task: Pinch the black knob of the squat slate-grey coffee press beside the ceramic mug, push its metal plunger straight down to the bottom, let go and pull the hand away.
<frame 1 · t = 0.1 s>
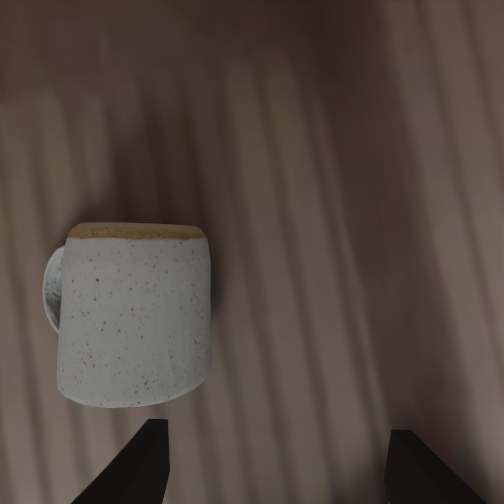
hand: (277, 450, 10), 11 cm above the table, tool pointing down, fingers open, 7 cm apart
ceramic mug: (142, 291, 21), on the table
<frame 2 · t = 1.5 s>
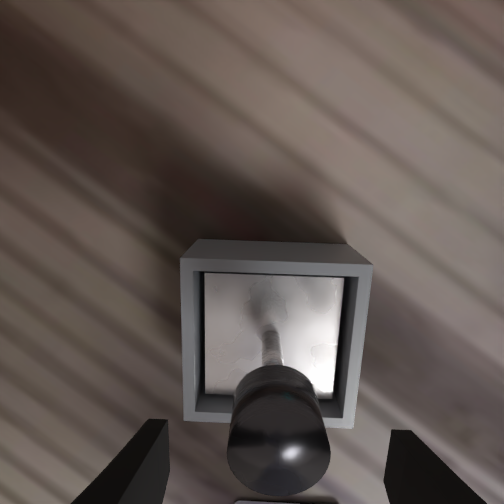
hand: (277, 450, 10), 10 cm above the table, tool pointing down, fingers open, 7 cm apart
press housing: (269, 311, 21), on the table
plunger: (273, 378, 14), point 7 cm above the table, slide at 0.9 cm
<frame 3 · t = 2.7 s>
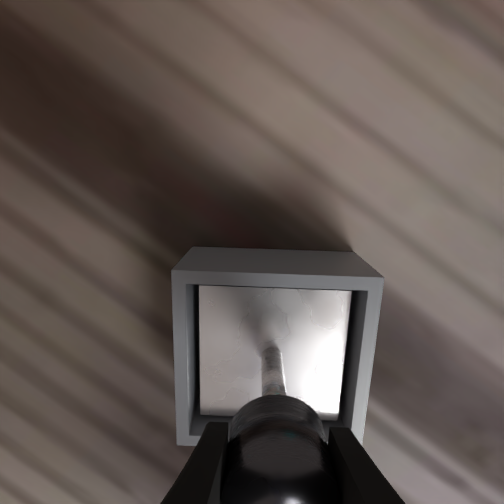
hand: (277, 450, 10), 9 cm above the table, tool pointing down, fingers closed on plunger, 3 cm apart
press housing: (269, 323, 19), on the table
plunger: (274, 405, 12), point 7 cm above the table, slide at 0.9 cm, touching gripper
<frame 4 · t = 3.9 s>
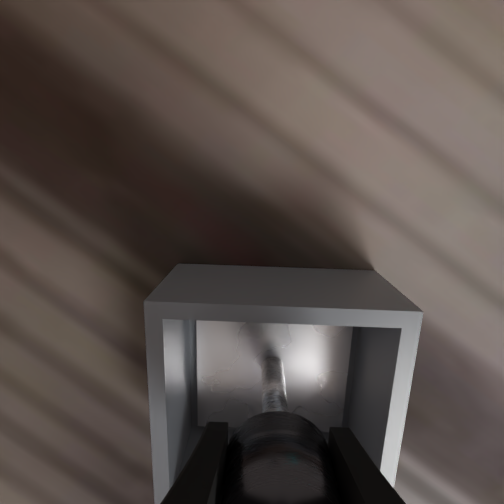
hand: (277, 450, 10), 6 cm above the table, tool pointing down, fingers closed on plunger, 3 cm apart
press housing: (271, 355, 16), on the table
plunger: (275, 420, 12), point 4 cm above the table, slide at 3.6 cm, touching gripper, press housing
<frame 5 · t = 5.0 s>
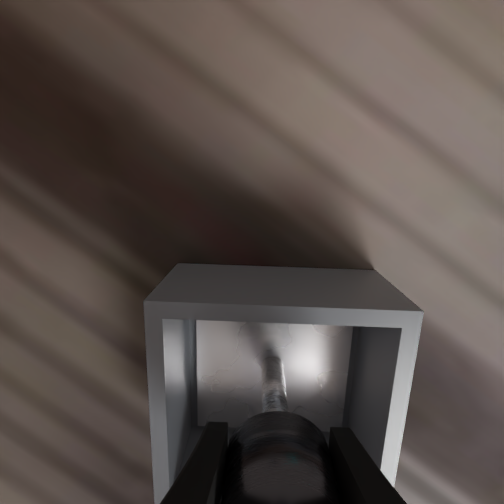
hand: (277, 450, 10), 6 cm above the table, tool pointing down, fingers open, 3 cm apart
press housing: (271, 354, 16), on the table
plunger: (275, 420, 12), point 4 cm above the table, slide at 3.6 cm, touching press housing
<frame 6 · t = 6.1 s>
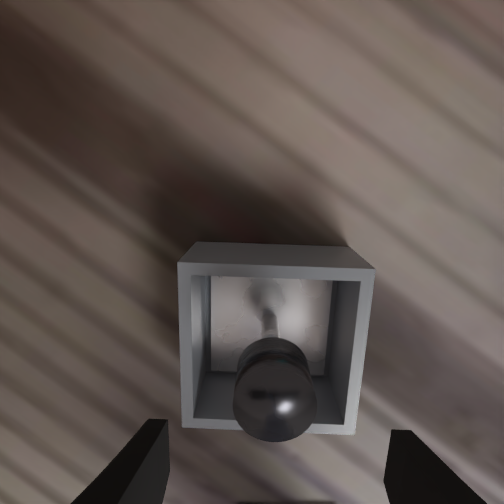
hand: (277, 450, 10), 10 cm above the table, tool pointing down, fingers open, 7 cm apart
press housing: (269, 314, 20), on the table
plunger: (271, 352, 16), point 4 cm above the table, slide at 3.6 cm, touching press housing
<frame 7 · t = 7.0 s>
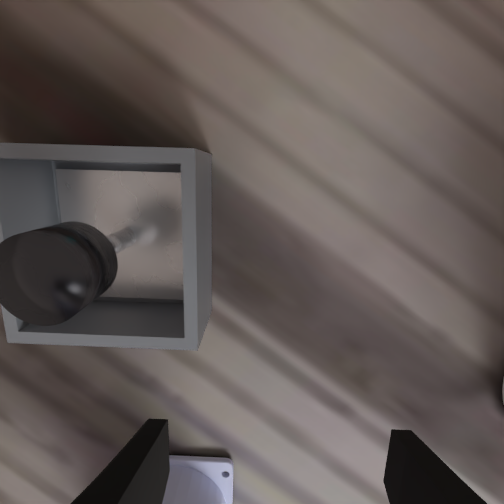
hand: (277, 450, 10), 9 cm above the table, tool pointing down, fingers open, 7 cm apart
press housing: (133, 234, 18), on the table
plunger: (95, 252, 14), point 4 cm above the table, slide at 3.6 cm, touching press housing
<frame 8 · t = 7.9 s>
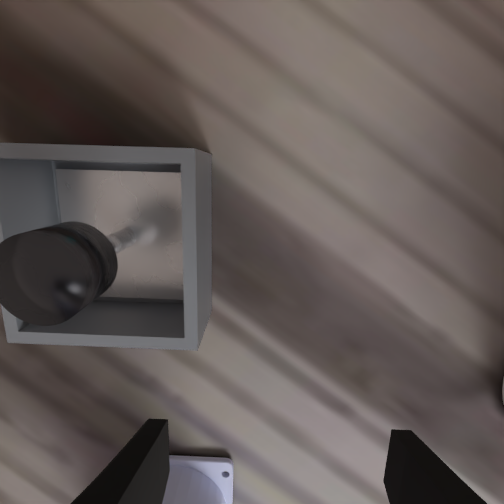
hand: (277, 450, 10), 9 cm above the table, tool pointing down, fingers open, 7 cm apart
press housing: (133, 234, 18), on the table
plunger: (95, 252, 14), point 4 cm above the table, slide at 3.6 cm, touching press housing
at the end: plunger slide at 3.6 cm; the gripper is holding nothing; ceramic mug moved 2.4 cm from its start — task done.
